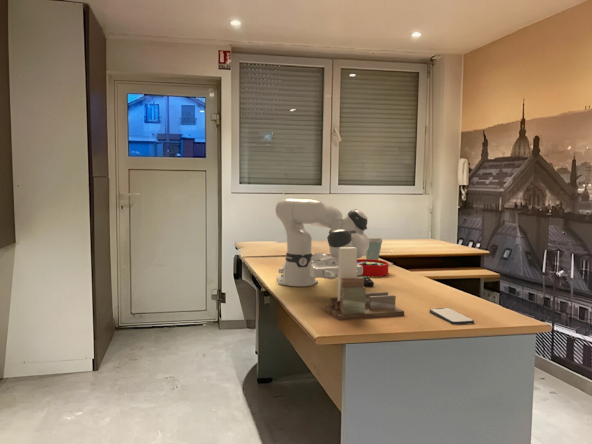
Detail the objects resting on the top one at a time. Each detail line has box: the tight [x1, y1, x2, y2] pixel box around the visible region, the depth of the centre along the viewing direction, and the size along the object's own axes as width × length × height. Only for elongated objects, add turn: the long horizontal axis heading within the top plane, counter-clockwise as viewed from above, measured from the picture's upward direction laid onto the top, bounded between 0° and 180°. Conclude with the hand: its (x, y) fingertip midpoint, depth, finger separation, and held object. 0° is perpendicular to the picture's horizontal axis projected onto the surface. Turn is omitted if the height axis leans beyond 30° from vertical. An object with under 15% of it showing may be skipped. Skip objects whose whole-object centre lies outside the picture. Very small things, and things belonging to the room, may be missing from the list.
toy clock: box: [357, 258, 389, 278], centre depth 246 cm, size 20×6×20 cm
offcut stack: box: [340, 277, 367, 314], centre depth 164 cm, size 3×8×12 cm, turn 107°
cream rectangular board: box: [336, 247, 357, 301], centre depth 168 cm, size 2×6×22 cm, turn 107°
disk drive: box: [356, 276, 375, 288], centre depth 220 cm, size 10×3×15 cm
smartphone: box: [429, 307, 475, 325], centre depth 166 cm, size 9×2×16 cm
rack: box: [324, 291, 405, 321], centre depth 170 cm, size 14×25×6 cm, turn 107°
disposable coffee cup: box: [365, 237, 383, 260], centre depth 279 cm, size 11×11×15 cm
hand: (344, 274), depth 173 cm, fingers open, 8 cm apart
